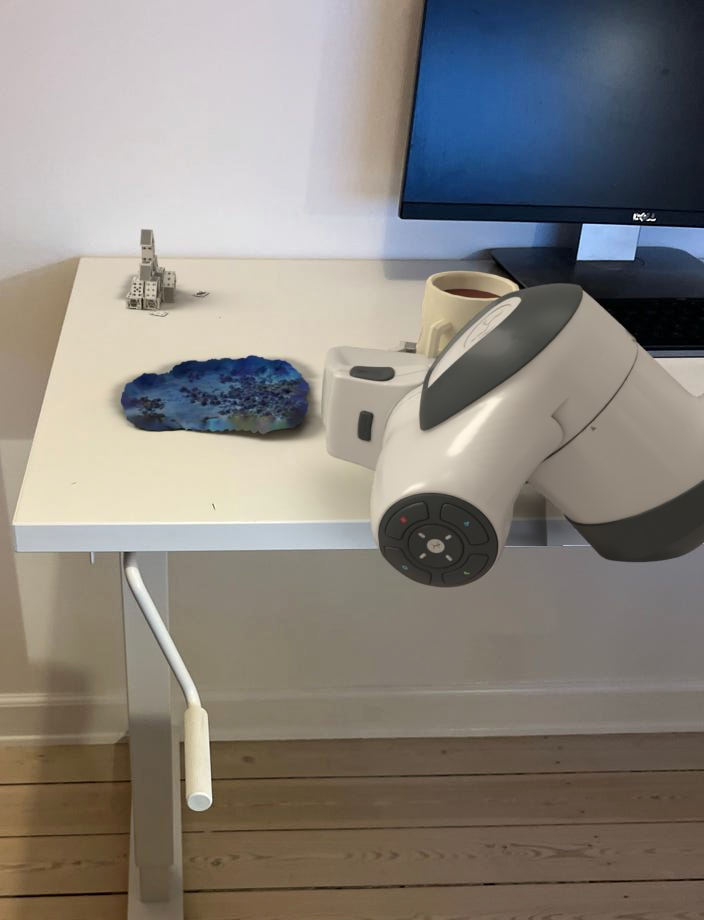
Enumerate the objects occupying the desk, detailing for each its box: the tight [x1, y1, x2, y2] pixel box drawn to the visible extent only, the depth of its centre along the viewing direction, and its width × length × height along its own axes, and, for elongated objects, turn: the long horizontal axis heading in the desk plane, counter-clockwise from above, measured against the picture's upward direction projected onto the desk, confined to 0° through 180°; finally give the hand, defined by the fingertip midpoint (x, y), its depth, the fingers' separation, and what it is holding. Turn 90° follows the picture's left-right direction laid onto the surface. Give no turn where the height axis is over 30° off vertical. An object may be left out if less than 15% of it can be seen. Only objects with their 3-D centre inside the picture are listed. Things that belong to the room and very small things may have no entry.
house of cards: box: [125, 228, 210, 317], centre depth 111 cm, size 9×9×8 cm
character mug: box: [416, 270, 520, 358], centre depth 80 cm, size 11×7×13 cm, turn 140°
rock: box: [120, 354, 310, 435], centre depth 92 cm, size 15×17×2 cm
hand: (459, 356), depth 80 cm, fingers closed on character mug, 7 cm apart
